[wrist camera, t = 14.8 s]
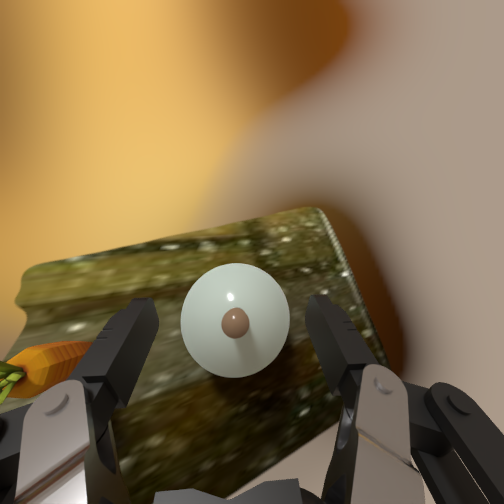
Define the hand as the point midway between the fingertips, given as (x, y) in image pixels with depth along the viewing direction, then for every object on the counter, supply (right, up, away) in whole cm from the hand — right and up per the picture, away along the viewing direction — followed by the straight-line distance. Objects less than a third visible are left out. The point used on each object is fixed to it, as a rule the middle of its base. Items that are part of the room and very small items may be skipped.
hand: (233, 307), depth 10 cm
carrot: (-23, -12, +20) cm, 33 cm away
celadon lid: (-1, -6, +16) cm, 17 cm away
